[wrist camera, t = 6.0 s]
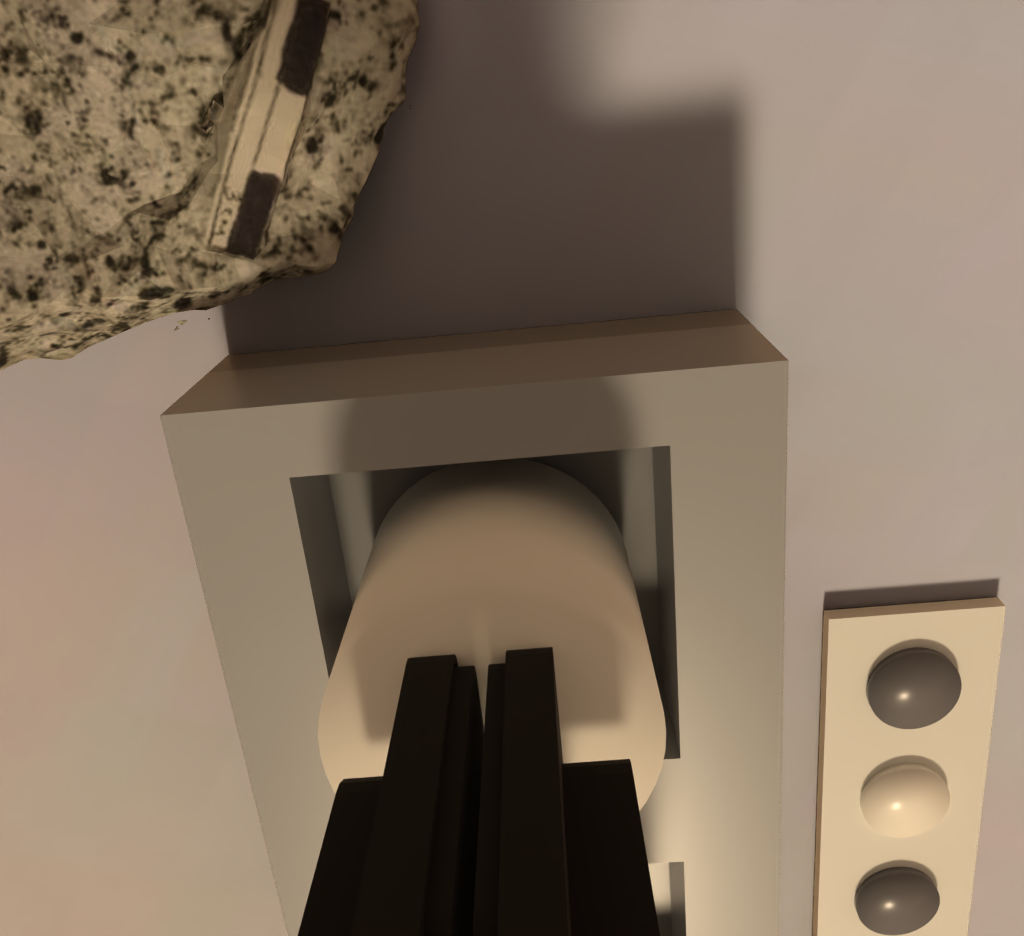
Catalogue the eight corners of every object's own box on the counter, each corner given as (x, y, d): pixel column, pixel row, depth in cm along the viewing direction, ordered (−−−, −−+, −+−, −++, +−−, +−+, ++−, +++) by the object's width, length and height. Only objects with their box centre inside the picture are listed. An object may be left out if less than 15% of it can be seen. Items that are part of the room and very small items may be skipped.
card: (823, 610, 16) (832, 624, 16) (996, 596, 16) (1010, 611, 16) (811, 945, 19) (818, 965, 19) (958, 936, 19) (969, 956, 19)
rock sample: (501, 493, 11) (-601, 359, 5) (192, 476, 17) (-544, 401, 10) (569, -302, 12) (-334, -1312, 6) (250, -78, 17) (-407, -472, 11)
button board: (228, 354, 15) (159, 415, 12) (736, 309, 14) (788, 360, 12) (407, 1198, 22) (390, 1353, 20) (740, 1181, 22) (772, 1337, 19)
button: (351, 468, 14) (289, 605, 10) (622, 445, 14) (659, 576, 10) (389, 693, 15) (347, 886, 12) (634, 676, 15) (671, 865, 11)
